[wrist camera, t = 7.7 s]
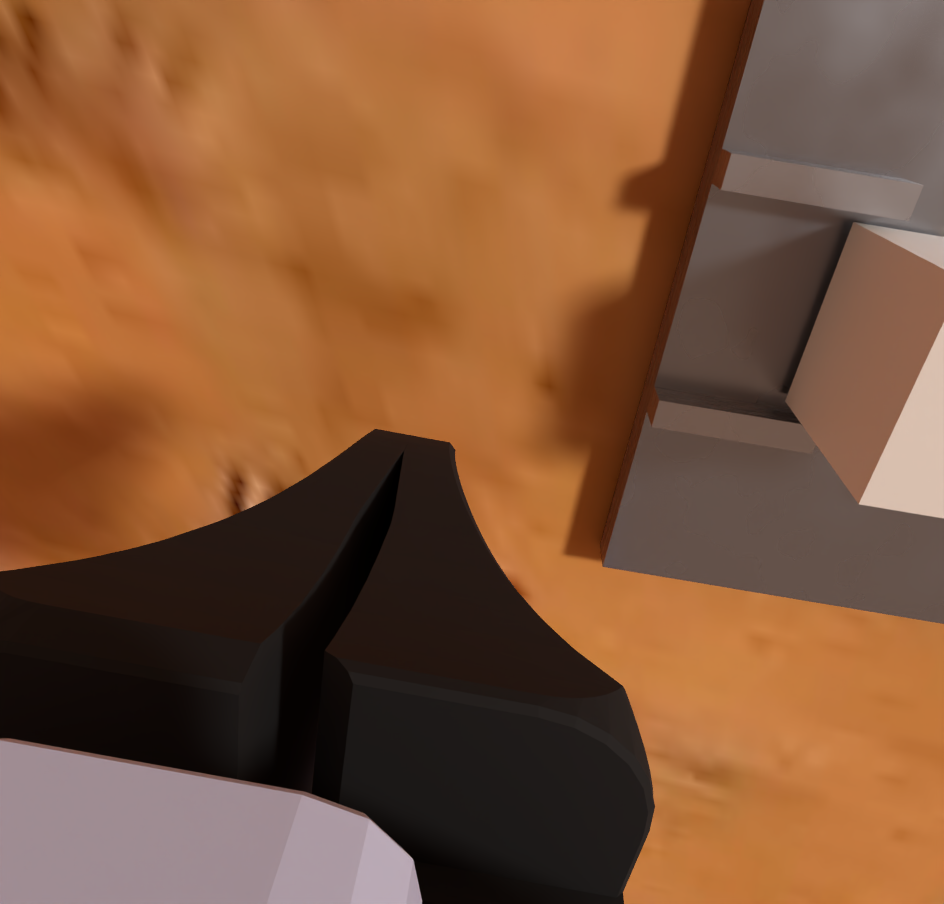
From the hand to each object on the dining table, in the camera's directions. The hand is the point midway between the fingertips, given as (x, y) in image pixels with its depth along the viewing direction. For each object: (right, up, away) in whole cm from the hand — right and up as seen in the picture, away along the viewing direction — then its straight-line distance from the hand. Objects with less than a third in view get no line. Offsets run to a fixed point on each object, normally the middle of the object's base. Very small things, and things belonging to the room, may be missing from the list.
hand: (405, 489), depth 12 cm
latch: (+13, +4, +7) cm, 15 cm away
